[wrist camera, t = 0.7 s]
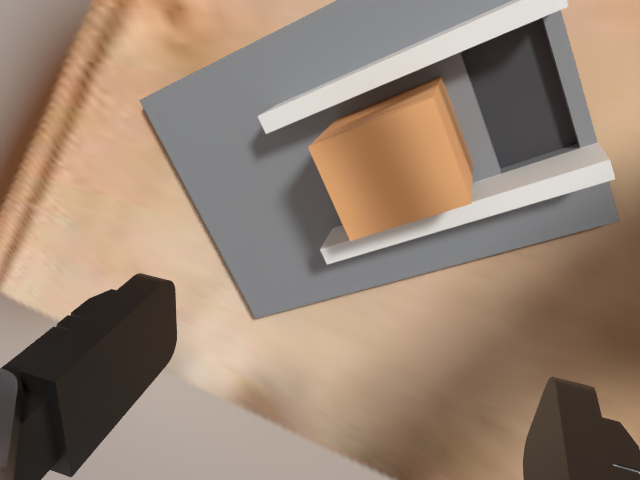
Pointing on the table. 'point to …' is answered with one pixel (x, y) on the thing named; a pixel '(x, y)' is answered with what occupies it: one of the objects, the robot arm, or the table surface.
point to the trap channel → (366, 89)
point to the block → (395, 161)
